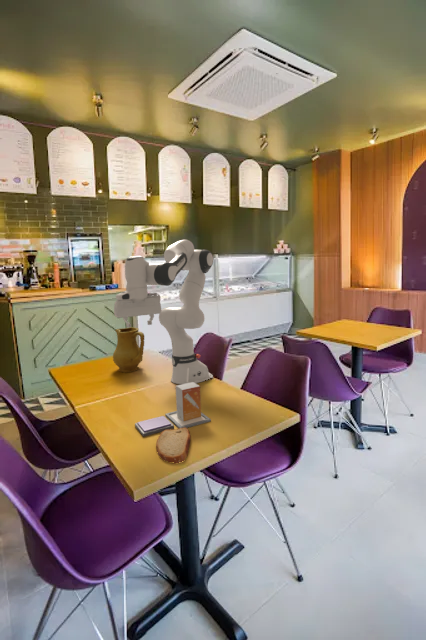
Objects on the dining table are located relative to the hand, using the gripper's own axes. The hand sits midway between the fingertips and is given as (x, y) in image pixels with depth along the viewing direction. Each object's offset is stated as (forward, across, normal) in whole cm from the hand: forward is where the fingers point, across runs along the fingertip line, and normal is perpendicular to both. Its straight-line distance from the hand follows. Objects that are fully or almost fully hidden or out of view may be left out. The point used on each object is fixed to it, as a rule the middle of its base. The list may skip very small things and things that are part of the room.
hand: (139, 325), depth 155 cm
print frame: (+35, -9, +26) cm, 45 cm away
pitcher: (+35, -9, -55) cm, 66 cm away
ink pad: (+35, +5, +26) cm, 44 cm away
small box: (+35, -10, +25) cm, 44 cm away
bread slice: (+36, +3, +43) cm, 56 cm away
